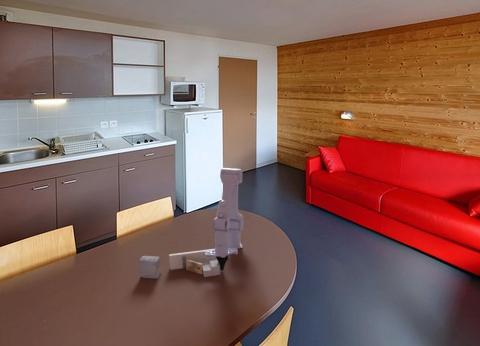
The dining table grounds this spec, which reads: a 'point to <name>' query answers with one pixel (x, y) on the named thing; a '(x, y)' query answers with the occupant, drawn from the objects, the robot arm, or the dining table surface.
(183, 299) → the dining table surface
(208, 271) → the pale grey notched block
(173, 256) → the wall shelf
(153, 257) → the medicine box
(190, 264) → the door
